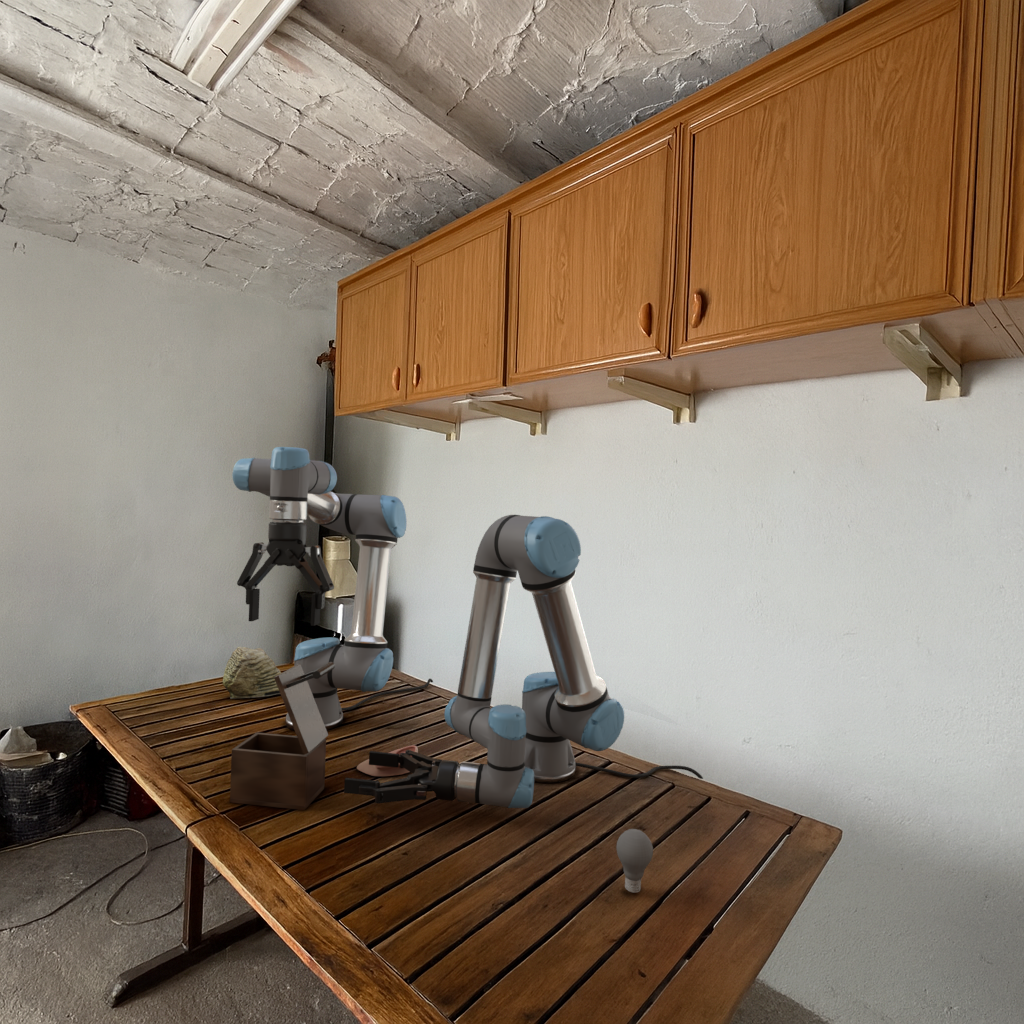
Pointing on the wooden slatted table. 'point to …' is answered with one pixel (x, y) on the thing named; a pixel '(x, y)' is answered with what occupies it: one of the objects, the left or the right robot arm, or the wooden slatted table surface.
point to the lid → (303, 704)
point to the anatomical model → (385, 770)
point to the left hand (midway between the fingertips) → (284, 622)
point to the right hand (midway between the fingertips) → (357, 770)
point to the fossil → (250, 674)
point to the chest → (276, 772)
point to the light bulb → (634, 857)
